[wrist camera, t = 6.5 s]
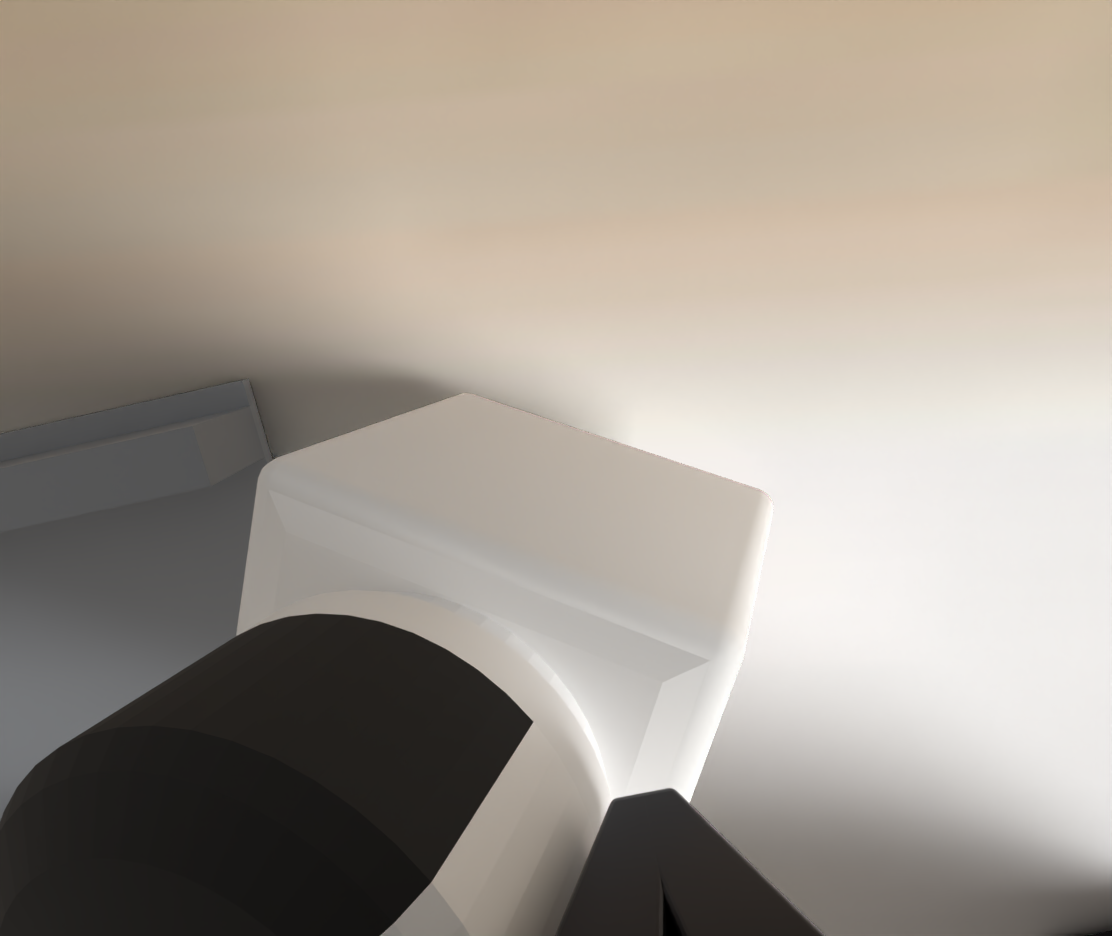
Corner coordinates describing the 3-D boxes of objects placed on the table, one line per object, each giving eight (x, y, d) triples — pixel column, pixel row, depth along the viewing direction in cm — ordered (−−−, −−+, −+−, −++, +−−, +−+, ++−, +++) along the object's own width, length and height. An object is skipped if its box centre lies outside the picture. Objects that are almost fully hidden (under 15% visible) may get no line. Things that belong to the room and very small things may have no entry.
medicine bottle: (403, 659, 20) (-122, 1147, 9) (462, 385, 18) (-138, 581, 7) (677, 775, 18) (455, 1552, 7) (780, 490, 16) (686, 980, 5)
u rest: (248, 378, 18) (182, 395, 15) (388, 851, 21) (358, 954, 18) (-333, 507, 19) (-522, 552, 16) (-128, 955, 21) (-253, 1075, 18)
